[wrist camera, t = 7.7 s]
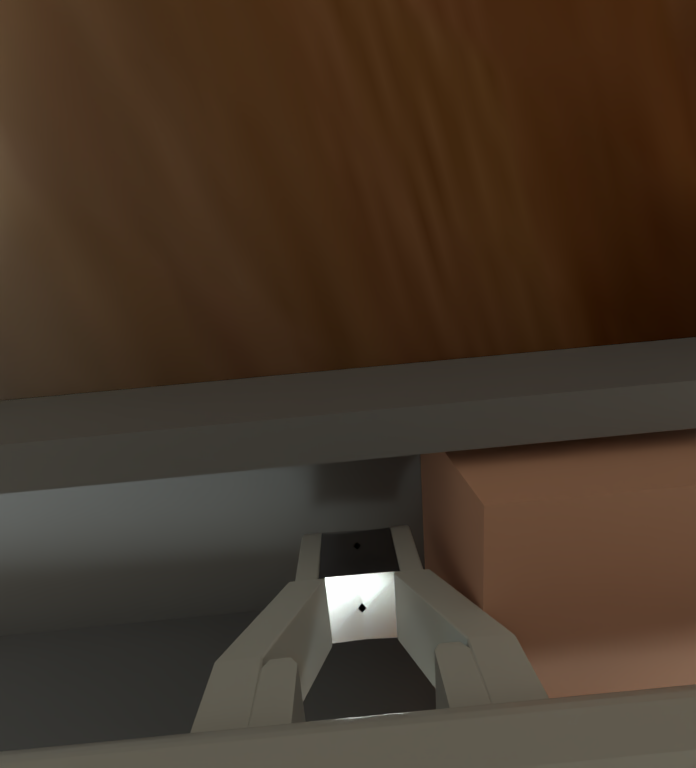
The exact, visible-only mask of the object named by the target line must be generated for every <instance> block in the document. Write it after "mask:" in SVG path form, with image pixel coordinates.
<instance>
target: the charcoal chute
mask: <svg viewBox="0 0 696 768" xmlns="http://www.w3.org/2000/svg"><path fill="white" fill-rule="evenodd" d="M693 428H696V337H691V338H680V339H669V340H658V341H647V342H637V343H626V344H615V345H604V346H593V347H582V348H571V349H560V350H549V351H538V352H527V353H517V354H506V355H495V356H484V357H473V358H462V359H451V360H440V361H429V362H418V363H407V364H396V365H386V366H375V367H364V368H353V369H342V370H331V371H320V372H309V373H298V374H287V375H276V376H265V377H255V378H244V379H233V380H222V381H211V382H200V383H189V384H178V385H167V386H156V387H145V388H134V389H124V390H113V391H102V392H91V393H80V394H69V395H58V396H47V397H36V398H25V399H14V400H3V401H0V751H10V750H21V749H31V748H41V747H52V746H62V745H72V744H83V743H93V742H103V741H114V740H124V739H134V738H144V737H155V736H165V735H175V734H186V733H190V732H191V729H192V726H193V723H194V720H195V718H196V715H197V712H198V709H199V706H200V703H201V700H202V698H203V695H204V692H205V689H206V686H207V683H208V680H209V678H210V675H211V672H212V669H213V666H214V663H215V662H216V661H217V659H218V658H219V657H220V656H221V655H222V654H223V653H224V652H225V651H226V650H227V649H228V648H229V646H230V645H231V644H232V643H233V642H234V641H235V640H236V639H237V638H238V637H239V636H240V635H241V634H242V632H243V631H244V630H245V629H246V628H247V627H248V626H249V625H250V624H251V623H252V622H253V621H254V620H255V618H256V617H257V616H258V615H259V614H260V613H261V612H262V611H263V610H264V609H265V608H266V607H267V605H268V604H269V603H270V602H271V601H272V600H273V599H274V598H275V597H276V596H277V595H278V594H279V593H280V591H281V590H282V589H283V588H284V587H285V586H286V585H287V584H288V583H289V582H293V581H295V579H296V572H297V566H298V560H299V553H300V547H301V540H302V537H303V535H304V534H314V533H325V532H340V531H355V530H358V531H359V530H370V529H381V528H389V527H393V526H401V525H408V526H409V527H410V530H411V533H412V537H413V540H414V543H415V546H416V549H417V552H418V555H419V558H420V561H421V564H422V567H423V569H425V559H424V535H423V510H422V485H421V461H420V454H429V453H439V452H450V451H460V450H471V449H482V448H492V447H503V446H513V445H524V444H535V443H545V442H556V441H566V440H577V439H588V438H598V437H609V436H619V435H630V434H640V433H651V432H662V431H672V430H683V429H693ZM303 706H304V713H305V720H306V722H310V721H320V720H331V719H341V718H351V717H362V716H372V715H382V714H393V713H403V712H413V711H424V710H434V709H436V689H435V687H434V686H433V685H432V684H431V682H430V681H429V680H428V678H427V677H426V676H425V674H424V673H423V672H422V670H421V669H420V668H419V666H418V665H417V664H416V662H415V661H414V660H413V659H412V657H411V656H410V655H409V653H408V652H407V651H406V649H405V648H404V647H403V645H402V644H401V643H400V641H399V640H398V637H396V638H380V639H364V640H356V641H348V642H340V643H333V644H332V648H331V650H330V651H329V653H328V655H327V657H326V659H325V661H324V663H323V665H322V667H321V669H320V671H319V673H318V674H317V676H316V678H315V680H314V682H313V684H312V686H311V688H310V690H309V692H308V694H307V695H306V697H305V699H304V701H303Z"/></svg>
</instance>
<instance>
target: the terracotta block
mask: <svg viewBox="0 0 696 768" xmlns="http://www.w3.org/2000/svg"><path fill="white" fill-rule="evenodd" d="M420 461H421V485H422V510H423V535H424V559H425V569H430V570H431V571H432V572H434V573H435V574H436V575H438V576H439V577H440V578H441V579H443V580H444V581H445V582H447V583H448V584H449V585H451V586H452V587H453V588H454V589H456V590H457V591H458V592H460V593H461V594H462V595H464V596H465V597H466V598H467V599H469V600H470V601H471V602H473V603H474V604H475V605H477V606H478V607H479V608H481V609H482V610H483V612H486V613H487V614H488V615H490V616H491V617H492V618H494V619H495V620H496V621H497V622H499V623H500V624H501V625H503V626H504V627H505V628H507V629H508V630H509V631H510V632H512V633H513V634H514V635H515V636H516V638H517V640H518V642H519V643H520V645H521V647H522V649H523V651H524V653H525V654H526V656H527V658H528V660H529V662H530V664H531V666H532V667H533V669H534V671H535V673H536V675H537V677H538V679H539V680H540V682H541V684H542V686H543V688H544V690H545V691H546V693H547V695H548V697H549V698H558V697H569V696H579V695H589V694H600V693H610V692H621V691H631V690H642V689H652V688H662V687H673V686H683V685H693V684H696V428H693V429H683V430H672V431H662V432H651V433H640V434H630V435H619V436H609V437H598V438H588V439H577V440H566V441H556V442H545V443H535V444H524V445H513V446H503V447H492V448H482V449H471V450H460V451H450V452H439V453H429V454H420Z"/></svg>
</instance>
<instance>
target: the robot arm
mask: <svg viewBox="0 0 696 768" xmlns="http://www.w3.org/2000/svg"><path fill="white" fill-rule="evenodd" d="M396 637H398V640H399V641H400V643H401V644H402V645H403V647H404V648H405V649H406V651H407V652H408V653H409V655H410V656H411V657H412V659H413V660H414V661H415V662H416V664H417V665H418V666H419V668H420V669H421V670H422V672H423V673H424V674H425V676H426V677H427V678H428V680H429V681H430V682H431V684H432V685H433V686H434V687H435V689H436V709H434V710H424V711H413V712H403V713H393V714H382V715H372V716H362V717H351V718H341V719H331V720H320V721H310V722H306V720H305V713H304V706H303V701H304V699H305V697H306V695H307V694H308V692H309V690H310V688H311V686H312V684H313V682H314V680H315V678H316V676H317V674H318V673H319V671H320V669H321V667H322V665H323V663H324V661H325V659H326V657H327V655H328V653H329V651H330V650H331V648H332V644H333V643H340V642H348V641H356V640H364V639H380V638H396ZM0 768H696V684H693V685H683V686H673V687H662V688H652V689H642V690H631V691H621V692H610V693H600V694H589V695H579V696H569V697H558V698H549V697H548V695H547V693H546V691H545V690H544V688H543V686H542V684H541V682H540V680H539V679H538V677H537V675H536V673H535V671H534V669H533V667H532V666H531V664H530V662H529V660H528V658H527V656H526V654H525V653H524V651H523V649H522V647H521V645H520V643H519V642H518V640H517V638H516V636H515V635H514V634H513V633H512V632H510V631H509V630H508V629H507V628H505V627H504V626H503V625H501V624H500V623H499V622H497V621H496V620H495V619H494V618H492V617H491V616H490V615H488V614H487V613H486V612H483V610H482V609H481V608H479V607H478V606H477V605H475V604H474V603H473V602H471V601H470V600H469V599H467V598H466V597H465V596H464V595H462V594H461V593H460V592H458V591H457V590H456V589H454V588H453V587H452V586H451V585H449V584H448V583H447V582H445V581H444V580H443V579H441V578H440V577H439V576H438V575H436V574H435V573H434V572H432V571H431V570H430V569H423V567H422V564H421V561H420V558H419V555H418V552H417V549H416V546H415V543H414V540H413V537H412V533H411V530H410V527H409V526H408V525H401V526H393V527H389V528H381V529H370V530H359V531H358V530H355V531H340V532H325V533H314V534H304V535H303V537H302V540H301V547H300V553H299V560H298V566H297V572H296V579H295V581H293V582H289V583H288V584H287V585H286V586H285V587H284V588H283V589H282V590H281V591H280V593H279V594H278V595H277V596H276V597H275V598H274V599H273V600H272V601H271V602H270V603H269V604H268V605H267V607H266V608H265V609H264V610H263V611H262V612H261V613H260V614H259V615H258V616H257V617H256V618H255V620H254V621H253V622H252V623H251V624H250V625H249V626H248V627H247V628H246V629H245V630H244V631H243V632H242V634H241V635H240V636H239V637H238V638H237V639H236V640H235V641H234V642H233V643H232V644H231V645H230V646H229V648H228V649H227V650H226V651H225V652H224V653H223V654H222V655H221V656H220V657H219V658H218V659H217V661H216V662H215V663H214V666H213V669H212V672H211V675H210V678H209V680H208V683H207V686H206V689H205V692H204V695H203V698H202V700H201V703H200V706H199V709H198V712H197V715H196V718H195V720H194V723H193V726H192V729H191V732H190V733H186V734H175V735H165V736H155V737H144V738H134V739H124V740H114V741H103V742H93V743H83V744H72V745H62V746H52V747H41V748H31V749H21V750H10V751H0Z"/></svg>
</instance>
